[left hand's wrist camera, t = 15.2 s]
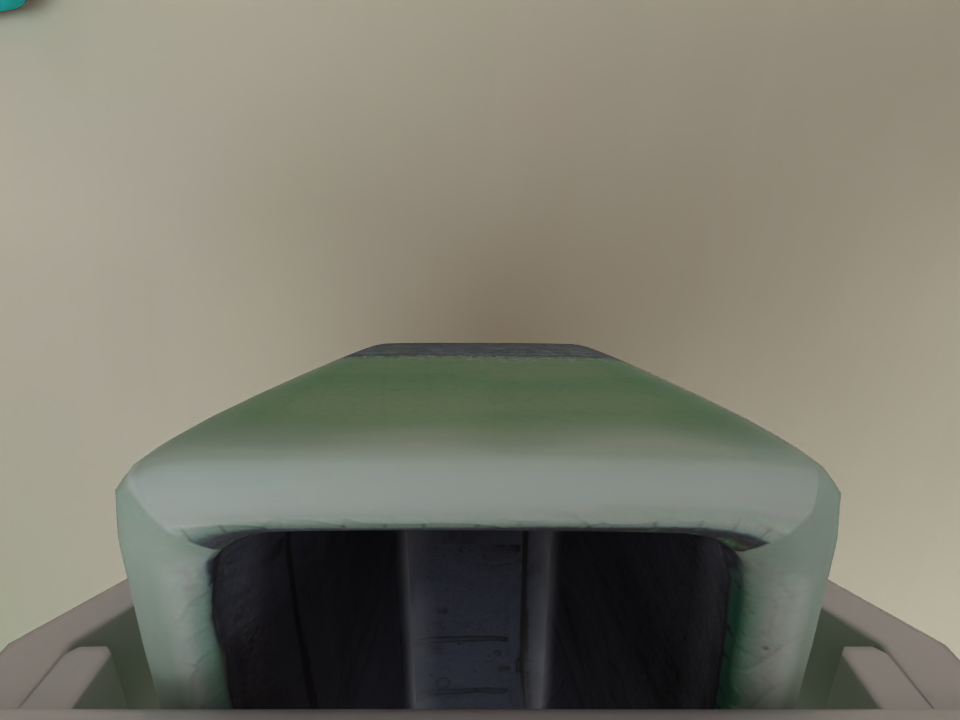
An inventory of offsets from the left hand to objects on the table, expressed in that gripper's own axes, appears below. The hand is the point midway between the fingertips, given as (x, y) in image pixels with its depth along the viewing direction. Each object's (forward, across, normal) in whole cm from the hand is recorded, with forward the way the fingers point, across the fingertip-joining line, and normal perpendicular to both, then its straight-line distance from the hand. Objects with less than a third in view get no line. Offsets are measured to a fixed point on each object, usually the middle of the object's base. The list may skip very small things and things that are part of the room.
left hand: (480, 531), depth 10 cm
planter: (+3, 0, -10) cm, 10 cm away
